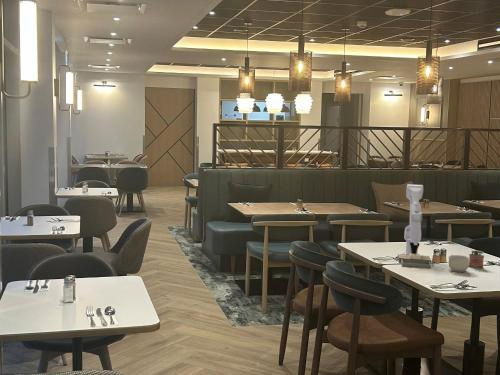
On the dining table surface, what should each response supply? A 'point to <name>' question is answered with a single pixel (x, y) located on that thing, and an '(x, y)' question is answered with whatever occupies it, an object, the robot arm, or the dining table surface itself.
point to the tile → (414, 256)
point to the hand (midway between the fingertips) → (413, 254)
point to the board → (406, 257)
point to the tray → (415, 263)
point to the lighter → (476, 259)
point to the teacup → (458, 263)
